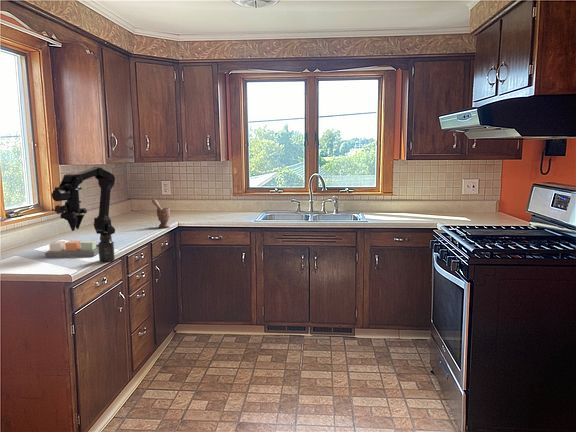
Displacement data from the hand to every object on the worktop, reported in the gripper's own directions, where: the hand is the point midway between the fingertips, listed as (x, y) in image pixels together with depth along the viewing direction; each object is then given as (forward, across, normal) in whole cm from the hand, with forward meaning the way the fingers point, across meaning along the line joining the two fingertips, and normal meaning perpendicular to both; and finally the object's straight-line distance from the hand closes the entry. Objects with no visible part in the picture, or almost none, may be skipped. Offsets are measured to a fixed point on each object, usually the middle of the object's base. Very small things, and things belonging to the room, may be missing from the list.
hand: (75, 229), depth 225 cm
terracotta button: (+10, +4, 0) cm, 10 cm away
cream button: (+10, +4, -8) cm, 13 cm away
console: (+12, +4, 0) cm, 13 cm away
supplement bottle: (+12, +18, +20) cm, 30 cm away
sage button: (+10, +4, +7) cm, 13 cm away
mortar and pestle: (+12, -71, +30) cm, 78 cm away
